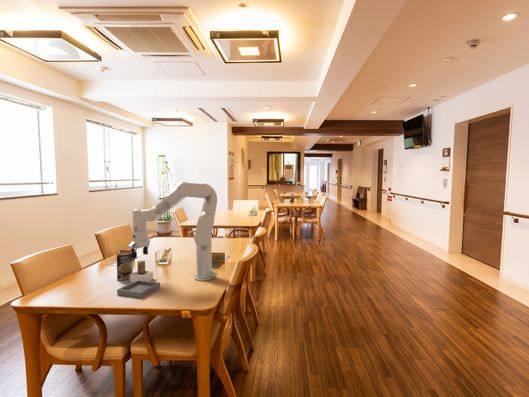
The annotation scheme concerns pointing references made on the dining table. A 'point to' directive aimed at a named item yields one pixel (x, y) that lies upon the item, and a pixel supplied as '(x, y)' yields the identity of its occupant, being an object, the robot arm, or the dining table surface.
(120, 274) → the coffee box
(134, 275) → the white square block
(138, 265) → the dowel
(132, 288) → the tray
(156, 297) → the dining table surface
